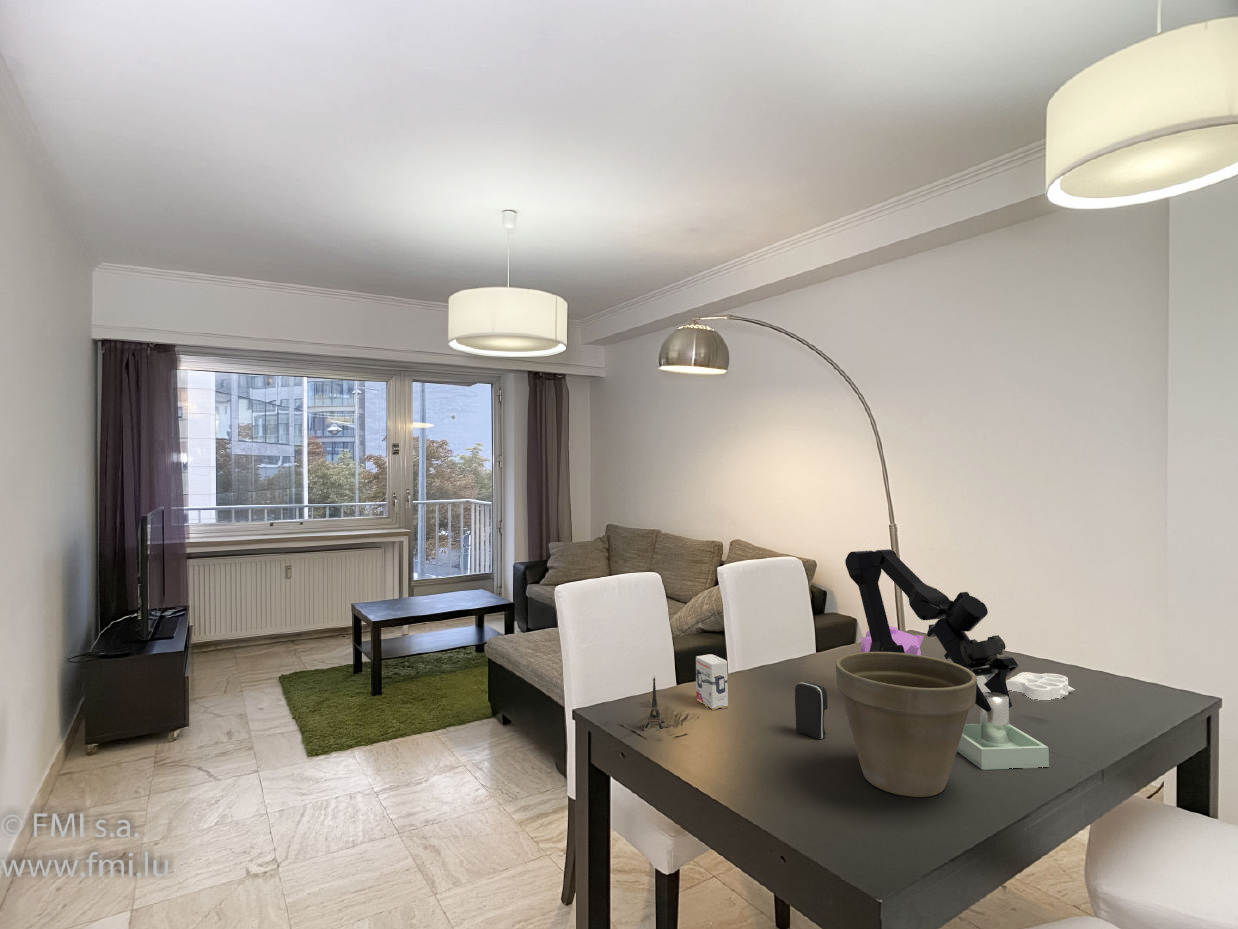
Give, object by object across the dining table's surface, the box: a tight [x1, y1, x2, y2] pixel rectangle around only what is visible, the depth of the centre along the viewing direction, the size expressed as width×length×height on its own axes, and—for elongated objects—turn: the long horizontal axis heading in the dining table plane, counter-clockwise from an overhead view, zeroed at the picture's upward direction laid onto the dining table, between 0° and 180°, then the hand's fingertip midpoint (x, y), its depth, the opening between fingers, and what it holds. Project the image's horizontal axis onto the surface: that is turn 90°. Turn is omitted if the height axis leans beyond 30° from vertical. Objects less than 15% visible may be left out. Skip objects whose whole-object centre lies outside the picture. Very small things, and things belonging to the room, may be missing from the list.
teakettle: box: [860, 626, 925, 656], centre depth 209 cm, size 17×17×12 cm
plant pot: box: [835, 651, 977, 798], centre depth 133 cm, size 25×25×22 cm
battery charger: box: [794, 681, 829, 740], centre depth 157 cm, size 7×4×11 cm, turn 38°
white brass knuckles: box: [1006, 671, 1076, 701], centre depth 186 cm, size 3×18×15 cm
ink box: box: [695, 654, 729, 708], centre depth 178 cm, size 8×5×12 cm, turn 23°
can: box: [979, 692, 1010, 744], centre depth 144 cm, size 5×5×9 cm
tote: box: [957, 723, 1050, 771], centre depth 144 cm, size 14×14×4 cm
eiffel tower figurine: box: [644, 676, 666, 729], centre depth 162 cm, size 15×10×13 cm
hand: (1000, 709), depth 143 cm, fingers closed on can, 5 cm apart
